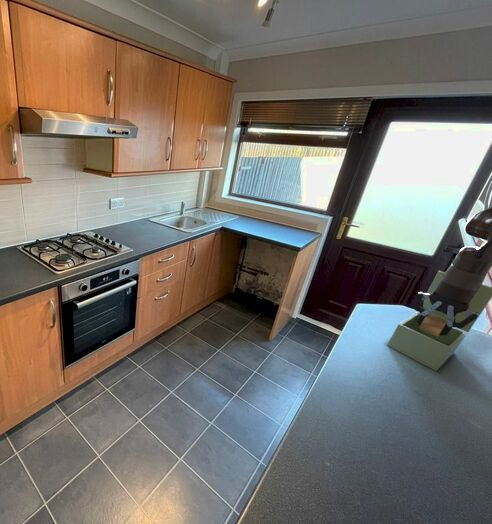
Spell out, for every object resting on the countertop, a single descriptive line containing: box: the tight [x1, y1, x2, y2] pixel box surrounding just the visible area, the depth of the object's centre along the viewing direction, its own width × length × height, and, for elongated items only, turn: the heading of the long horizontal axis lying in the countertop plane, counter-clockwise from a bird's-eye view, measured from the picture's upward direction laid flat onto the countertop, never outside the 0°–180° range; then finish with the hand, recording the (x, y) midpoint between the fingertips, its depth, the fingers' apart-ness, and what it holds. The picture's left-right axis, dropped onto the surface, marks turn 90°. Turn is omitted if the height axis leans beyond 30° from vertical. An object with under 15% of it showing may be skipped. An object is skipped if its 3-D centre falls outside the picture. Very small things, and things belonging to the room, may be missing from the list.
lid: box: [423, 270, 492, 333], centre depth 89 cm, size 16×13×6 cm
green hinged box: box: [386, 311, 468, 372], centre depth 91 cm, size 16×13×9 cm
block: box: [419, 313, 447, 337], centre depth 87 cm, size 4×4×4 cm
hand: (430, 329), depth 88 cm, fingers closed on block, 4 cm apart
